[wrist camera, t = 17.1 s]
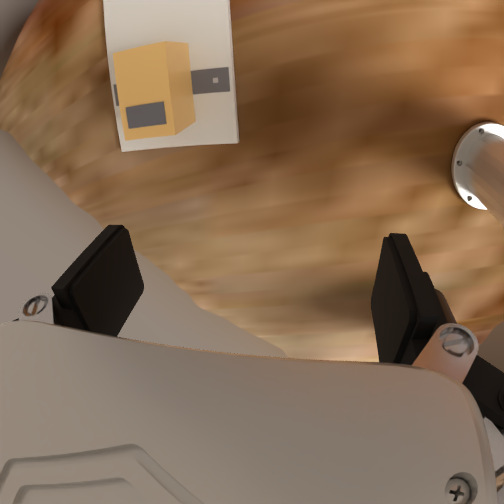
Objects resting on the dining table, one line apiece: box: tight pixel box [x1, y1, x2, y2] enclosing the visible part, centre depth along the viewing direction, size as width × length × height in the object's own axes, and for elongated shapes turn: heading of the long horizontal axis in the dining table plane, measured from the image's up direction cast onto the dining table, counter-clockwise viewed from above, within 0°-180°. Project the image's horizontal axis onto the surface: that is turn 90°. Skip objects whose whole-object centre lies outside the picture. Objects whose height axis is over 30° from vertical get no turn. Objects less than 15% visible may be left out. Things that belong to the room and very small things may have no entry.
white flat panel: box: [103, 0, 239, 152], centre depth 31 cm, size 16×28×1 cm, turn 3°
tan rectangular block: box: [113, 41, 196, 141], centre depth 31 cm, size 6×10×7 cm, turn 3°
